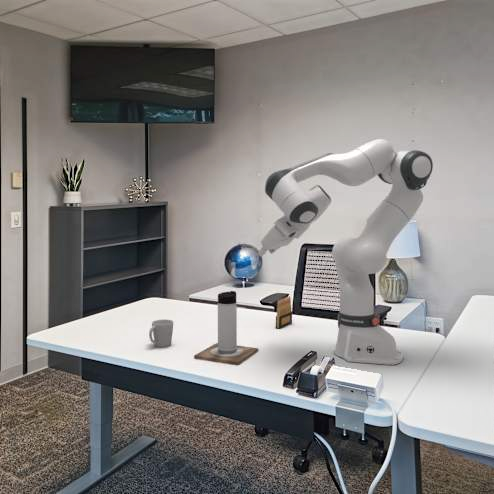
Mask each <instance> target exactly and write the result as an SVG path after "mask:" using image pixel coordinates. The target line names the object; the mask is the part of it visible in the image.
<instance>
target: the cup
mask: <svg viewBox="0 0 494 494" xmlns="http://www.w3.org/2000/svg"><path fill="white" fill-rule="evenodd" d="M173 330H174V321H173V320H171V319H155V320H152V322H151V327H150V329H149V333H148V334H149V340H150V341H151V342H150V343H152V344H154V346H155V347H156V348H169V347H170V346H171V345H172V341H173Z"/></svg>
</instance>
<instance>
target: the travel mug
mask: <svg viewBox="0 0 494 494" xmlns="http://www.w3.org/2000/svg"><path fill="white" fill-rule="evenodd" d="M237 304H238V303H237V292H236V291H234V290H230V291H223V292H219V293H218V294H217V343H218V352H219V353H221V354H233V353H235V352H236V351H237V347H236V346H238V344H237V342H238V339H237V337H238V336H237V335H238V333H237V329H238V327H237V324H238V323H237V320H238V319H237V316H238V314H237V313H238V312H237V311H238V310H237V309H238V308H237V307H238V306H237Z"/></svg>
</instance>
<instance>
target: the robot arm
mask: <svg viewBox="0 0 494 494" xmlns="http://www.w3.org/2000/svg"><path fill="white" fill-rule="evenodd" d="M433 163H434V162H433V159H432V157H431V156H430V155H429V154H428V153H426V152H424V151H421V150H417V149H415V150H401V151H395V150H394V147H393V146H392V144H391V143H390V142H389V141H388V140H386V139H383V138H377V139H375V140H371V141H369V142H366V143H363V144H362V145H360V146H358V147H357V148H354V149H352V150H351V151H347V152H344V153H343V152H342V153H332V152H329V153H325V154H321V155H319V156H317V157H315V158H312V159H309V160H307V161H304V162H302V163H299V164H297V165H295V166H291V167H290V168H285V169H281V170H276V171H274V172H272V173H271V174H270V175H269V176H268V177H267V179H266V181H265V187H264V191H265V194H266V196H268V197H269V198H270V199H271V200H272V201H273V202H274V203H275V205H276V206H277V207H278V208H279V210H280V211H281V212H282V214H284V215H282V217H280V218H278V219H277V220H276V221H275V222H274V225H273V226H272V227H271V228H270V229H269V231H268V232H267V233H266V234H265V235H264V237H262V238H261V241H260V244H261V245H262V246H261V247H260V250H259V251H258V252H257V254H258V256H259V257H263V256H264V255H265V254H266V253H267V252H269V253H270V254H274V253H275V252H276V251H277V250H279V249H280V248H282V247H285V246H288V245H290V244H291V243H292V242H293V241H294V239H299V238H301V236H302V235H303V234H304V233H305V232H307V230H308V229H309V227H310V226H311V224H313V223H314V222H316V221H317V220H318V219H319V218H320V217H321V216H322V215H323V214H324V212H326V210H327V209H328V208H329V206H330V205H331V203H332V199H331V197H330V195H329V194H328V193H327V192H326V191H325V189H324V188H322V186H320V185H319V184H316V185H314V186H313V187H311V188H310V189H309V190H308V191H307V190H305V189H303V188H302V186H301V185H300V184H299V183H300V182H302V181H305V180H307V179H310V178H313V177H316V176H325V177H329V178H332V179H333V180H336V181H337V182H339V183H340V184H343V185H346V186H347V187H358V186H361V185H364V184H366V183H367V182H369V181H371V180H372V179H374V178H375V177H377V176H378V178H379V179H380V180H381V181H383V182H384V183H385V184H389V185H392V187H391V190H390V191H389V193H388V195H387V196H386V197H385V198H384V199H383V200H382V201H381V202H380V203H379V205H377V207H376V208H375V210H373V211H372V212H371V214H370V215H369V216H368V218H367V219H366V224H365V226H364V229H363V230H362V233H361V234H360V235H359V236H358V237H352V236H351V237H345V238H342V239H339V240H337V242H336V243H334V245H333V247H332V250H331V257H332V259H333V261H334V262H335V267H336V273H337V278H338V279H337V280H338V285H339V311H338V313H337V314H338V315H337V328H338V331H337V337H336V338H337V340H336V343H335V347H334V350H333V352H334V355H335V356H337V357H340V358H342V359H344V360H345V361H346V362H349V363H360V364H361V363H362V364H376V365H387V366H388V365H392V366H395V364H396V365H399V364H400V363H402V362H403V360H404V353H403V352H402V351H401V350H400V349H397V348H398V347H397V342H396V339H395V337H394V336H393V335H392V334H391V333H389V332H388V331H387V330H386V329H385V328H384V327H382V326H381V325H380V322H381V321H380V320H381V319H380V315H379V314H378V315H377V314H376V313H375V312H374V305H375V304H374V303H375V302H374V301H375V299H374V298H375V297H374V296H375V291H374V290H375V289H374V287H373V285H372V283H371V281H370V276H369V275H371V274H373V275H374V274H377V273H380V272H381V271H382V270H383V269H384V267H385V266H386V264H387V254H388V252H389V250H390V247H391V245H392V244H393V242H394V241H395V239H396V238H397V236H398V235H399V234H400V233H401V232H402V231H403V229H405V227H406V226H407V225H408V223H410V221H411V220H412V219H413V217H414V216H415V215H416V213H417V212H418V210H419V209H420V207H421V205H422V203H423V201H424V193H423V192H422V190H421V189H422V188H424V187H426V185H427V182H428V180H429V178H430V177H431V175H432V173H433V167H434V165H433ZM401 361H402V362H401ZM398 363H399V364H398Z"/></svg>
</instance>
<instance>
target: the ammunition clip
mask: <svg viewBox="0 0 494 494" xmlns="http://www.w3.org/2000/svg"><path fill="white" fill-rule="evenodd" d="M291 301H292V300H291V296H290V295H289V296H288V295H287V296H286V297H283V298H280V299H278V300H277V303H276V305H277V306H276V307H277V308H276V316H275V329H277V330H282V329H283V328H285V327H288V326H290V325H292V324H293V312H292V302H291Z"/></svg>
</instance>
